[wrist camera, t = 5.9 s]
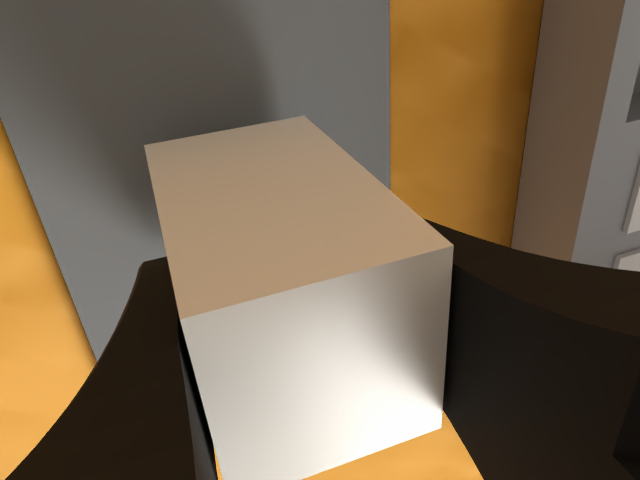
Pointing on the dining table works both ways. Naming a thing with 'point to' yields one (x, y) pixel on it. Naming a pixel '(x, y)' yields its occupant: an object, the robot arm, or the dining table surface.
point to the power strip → (583, 137)
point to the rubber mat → (170, 109)
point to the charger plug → (301, 298)
